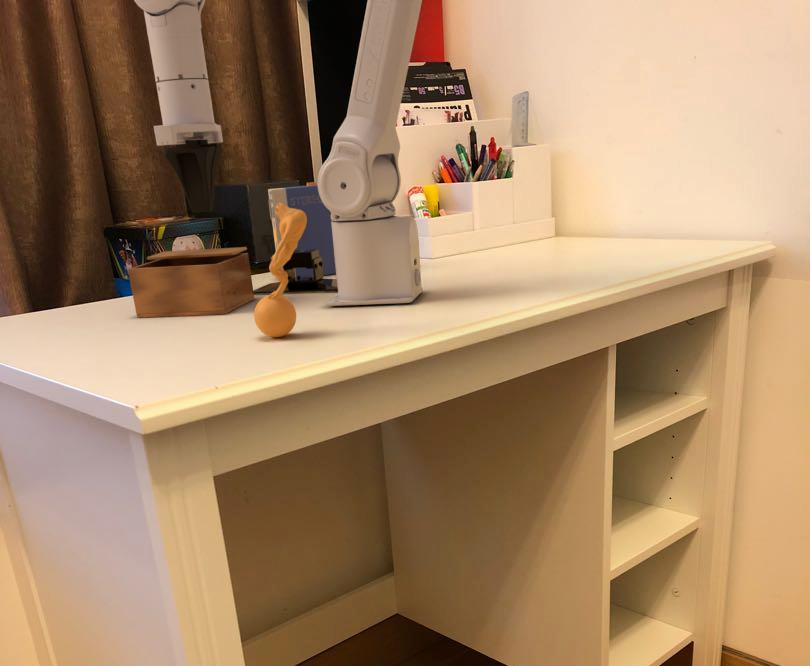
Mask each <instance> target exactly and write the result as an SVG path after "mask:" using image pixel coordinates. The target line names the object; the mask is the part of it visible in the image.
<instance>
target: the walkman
mask: <svg viewBox="0 0 810 666" xmlns="http://www.w3.org/2000/svg"><path fill="white" fill-rule="evenodd" d="M267 192H268V208H269V216H270V220H271V224H272V232H273V239H274V247H275V251H276V250H277V247H278V245H279V243H280V242H281V240H282V237H281V234H280V229H279V225H280V220H281V219H280V217H278V216H277V215H276V213H275V212H276V211H279V210H277V208H276V206H277V205H278V204H279V203H283V204H284V205H286V206H287V207H289V208H294V209H298V210H302V211H303V212H304V213H305V214H306V217H307V223H306V227H305V229H304V232H303V234H302V236H301V238H300V239H299V241H298V244H297V248H296V249H295V250H303V251H306V250H313V249H318V250H319V257H322V262H323V276H330V275H336V265H335V255H334V245H333V235H332V225H331V221H332V220H331V216H330V215H331V211H330V210H328V209H327V208H326V206H325V205H324V204H323V202H322V200H321V198H320V195H319V192H318V183H317V182H316V181H313V182H306V185H300V186H299V185H298V186H289V187H288V186H287V187H278V188H268V189H267ZM281 270H284V269H283V267H281ZM294 270H295V277H297V276H301V277H314V273H313V269H306V267H304V268H295V269H294Z"/></svg>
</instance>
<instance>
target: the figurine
mask: <svg viewBox="0 0 810 666" xmlns="http://www.w3.org/2000/svg"><path fill="white" fill-rule="evenodd" d="M276 208H277V210H279V211H276V212H275V213H276V215H277V216H278V217H280V219H281V220H280V225H279V229H280V234H281V237H282V240H281V242H280V243H279V245H278V247H277V250H276V249H275V253H273V255H272V256H271V257H270V260H271V261H270V263H269V267H268V269H269V273H270V274H271V275H273V276H274V278H275V279H276V280H277V282H281V284H280V286H279V288H278V289H277V290H276V291H274V292H273V293H272V294H267V295H266V296H264V297H262V298H261V299H260V300H259V301H258V302H257V304H256V306H255V308H254V312H253V317H254V322H255V325H256V327H257V328H258V330H259V331H260V332H261V333H263V334H264V335H265V336H268V337H270V338H281V337H285V336H286V335H288V334H289V333H291V331H292V330H293V329H294V327H295V325H296V322H297V311H296V309H295V306H294V304H293V303H292V301H290V299H288V298H287V297H286V296H284V293H283V291H284V289H285V288H286V286H287V284H288V274H287V272H286V271H284V270H281V267H283V266H284V265H285V263H286V262H287V261H288V260H290V258H291V256H292V254H293V252H294V250H295V249H296V248H297V244H298V241H299V239H300V238H301V236H302V234H303V232H304V229H305V227H306V223H307V217H306V214H305V213H304V212H303V211H302V210H298V209H294V208H289V207H287V206H286V205H284V204H283V203H279V204H278V205H277V206H276Z"/></svg>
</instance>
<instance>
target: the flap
mask: <svg viewBox="0 0 810 666" xmlns="http://www.w3.org/2000/svg"><path fill="white" fill-rule="evenodd" d="M247 250H248V248H247V246H242V247H241V246H240V247H239V246H238V247H223V248H222V247H221V248H220V247H219V248H205V249H185V250H165V251H161V252H158V253H155V254H152V255H150V256H149V255H148V256H146V260H147V261H155V260H158V259H174V258H192V257H211V256H230V255H235V254H239V253H243V252H244V251H247Z"/></svg>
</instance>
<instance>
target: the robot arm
mask: <svg viewBox="0 0 810 666" xmlns="http://www.w3.org/2000/svg"><path fill="white" fill-rule="evenodd" d="M133 1H134V3H135V4H136V5H137V7H139V9H141V10H142V11H143V16H144V20H145V26H146V27H145V28H146V33H147V39H148V43H149V50H150V55H151V61H152V67H153V74H154V80H155V85H156V91H157V96H158V97H157V98H158V103H159V109H160V114H161V121H162V125H153V132H154V137H155V143H156V147H161V146H166V147H162V152H163V156H164V158H165V160H167V162H168V163H169V165H170V166H171V168H172V170H173V171H174V173H175V174H176V176H177V178H178V181H179V183H180V184H181V187H182V190H183V193H184V195H185V196H186V200H187V203H188V205H189V207H190V210H191V212H192V214H197V213H211V212H213V211H214V203H215V187H216V186H215V185H216V177H217V171H218V166H219V161H220V159H221V156H222V153H223V145H222V143H224V140H223V133H222V125H221V124H217V123H216V122H215V116H214V109H213V102H212V96H211V88H210V83H209V75H208V69H207V61H206V55H205V48H204V41H203V34H202V28H203V27H202V20H201V19H202V17H201V15H202V10H203V9H204V6H205V2H206V0H133ZM422 2H423V0H367V2H366V8H365V14H364V19H363V23H362V29H361V36H360V41H359V45H358V52H357V58H356V62H355V63H356V64H355V68H354V74H353V79H352V85H351V91H350V94H349V95H350V96H349V101H348V107H347V113H346V117H345V118H344V120H343V122H342V123H341V125H340V126H339V128H338V130H337V131H336V133H335V135H334V136H333V140H332V145H331V150H330V152H329V155H328V157H327V158H326V160H325V161H324V162H323V163H322V165H321V167H320V169H319V172H318V175H317V185H318V192H319V195H320V198H321V200H322V202H323V204H324V205H325V206H326V208H327V209H328V210H330V216H331V226H332V236H333V246H334V256H335V266H336V274H335V275H336V279H337V285H338V292H337V293H338V295H336V296H335V297H334V298H333V297H332V299H330V300H329V301H328V302H327V304H328V306H329V307H337V306H339V307H341V306H361V305H363V306H365V305H386V304H387V305H388V304H389V305H390V304H391V305H392V304H409V303H413V302H414V300H415V299H416V298H417V297H418V296H419V295H420V294H421V293H422V292H423V287H422V273H421V272H422V271H421V258H420V241H419V232H418V231H419V230H418V225H417V220H416V218H415V217H414V216H412V215H403V216H398V215H396V214H397V211H396V207H395V205H394V202H395V200H396V199H397V198H398V195H399V193H400V190H401V183H402V179H401V171H400V168H399V155H400V150H401V142H400V139H399V136H398V131H397V123H398V118H399V112H400V108H401V103H402V98H403V95H404V90H405V84H406V80H407V75H408V71H409V66H410V61H411V57H412V56H411V55H412V52H413V46H414V41H415V38H416V37H415V36H416V32H417V27H418V22H419V18H420V12H421V9H422V8H421V7H422ZM171 145H172V146H171ZM174 145H175V146H174Z"/></svg>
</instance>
